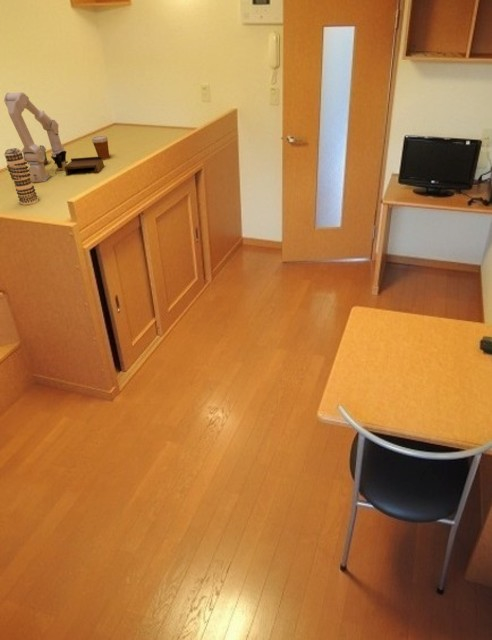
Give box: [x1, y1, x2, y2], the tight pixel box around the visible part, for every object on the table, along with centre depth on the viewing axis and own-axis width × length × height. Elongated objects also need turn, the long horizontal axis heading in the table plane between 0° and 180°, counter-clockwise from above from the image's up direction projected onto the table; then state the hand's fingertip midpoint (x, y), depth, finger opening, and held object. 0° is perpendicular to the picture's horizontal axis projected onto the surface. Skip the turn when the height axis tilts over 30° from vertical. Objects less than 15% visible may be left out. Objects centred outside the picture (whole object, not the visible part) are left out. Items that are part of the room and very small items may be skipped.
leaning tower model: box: [3, 147, 39, 206], centre depth 232 cm, size 9×9×25 cm
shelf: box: [64, 156, 105, 176], centre depth 275 cm, size 13×18×6 cm
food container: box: [38, 144, 49, 167], centre depth 292 cm, size 12×6×10 cm, turn 168°
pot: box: [53, 160, 69, 171], centre depth 282 cm, size 5×8×5 cm
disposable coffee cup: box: [91, 135, 110, 160], centre depth 293 cm, size 10×10×12 cm
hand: (62, 166), depth 283 cm, fingers open, 6 cm apart
